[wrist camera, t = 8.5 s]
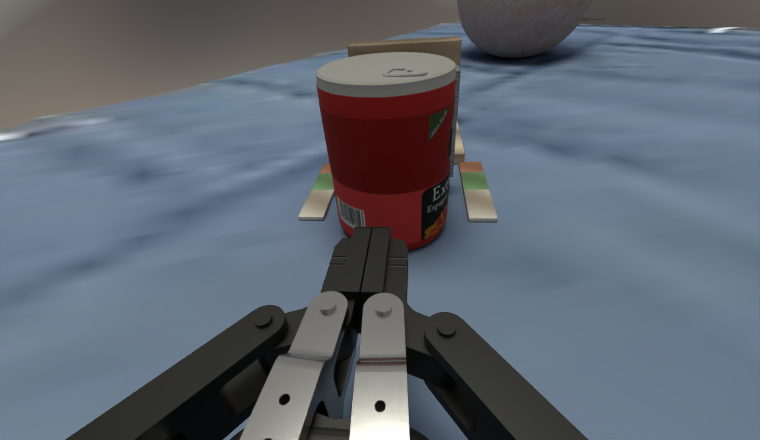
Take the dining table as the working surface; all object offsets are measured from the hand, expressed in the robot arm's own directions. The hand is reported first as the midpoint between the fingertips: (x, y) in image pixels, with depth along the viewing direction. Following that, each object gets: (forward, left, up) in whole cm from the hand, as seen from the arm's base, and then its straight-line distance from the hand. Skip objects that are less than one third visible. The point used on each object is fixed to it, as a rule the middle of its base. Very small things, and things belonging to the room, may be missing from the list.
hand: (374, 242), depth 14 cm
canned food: (-3, +9, -6) cm, 11 cm away
